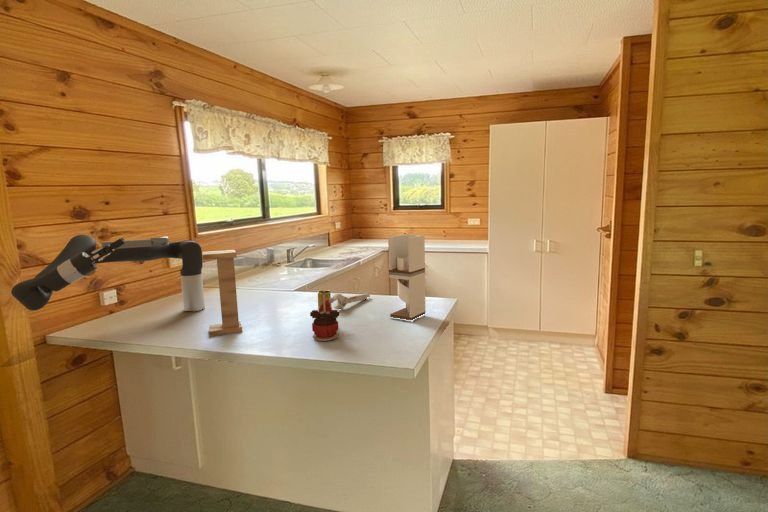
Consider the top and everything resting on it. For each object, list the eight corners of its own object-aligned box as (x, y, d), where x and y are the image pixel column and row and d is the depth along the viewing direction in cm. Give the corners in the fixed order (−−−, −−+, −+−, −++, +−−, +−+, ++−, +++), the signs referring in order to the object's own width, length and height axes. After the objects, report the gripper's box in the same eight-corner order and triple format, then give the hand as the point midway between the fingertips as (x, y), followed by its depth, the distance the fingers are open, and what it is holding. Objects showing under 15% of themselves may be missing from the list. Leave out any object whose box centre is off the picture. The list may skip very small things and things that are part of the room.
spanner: (105, 248, 156) (104, 239, 156) (169, 244, 164) (168, 236, 164) (101, 250, 151) (100, 241, 151) (168, 245, 159) (167, 237, 158)
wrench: (369, 304, 221) (334, 312, 195) (366, 304, 222) (331, 312, 195) (370, 288, 220) (335, 294, 194) (367, 288, 221) (331, 294, 195)
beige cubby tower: (404, 312, 194) (403, 234, 188) (425, 315, 187) (424, 235, 182) (390, 318, 184) (388, 237, 179) (411, 322, 178) (409, 238, 173)
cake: (309, 342, 158) (306, 294, 155) (314, 334, 167) (312, 288, 164) (338, 342, 157) (336, 293, 154) (341, 334, 166) (340, 288, 164)
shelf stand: (209, 330, 175) (202, 251, 171) (240, 325, 180) (234, 249, 175) (209, 336, 167) (202, 254, 163) (242, 331, 172) (236, 252, 167)
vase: (321, 328, 173) (319, 294, 171) (316, 324, 178) (314, 291, 176) (335, 326, 176) (333, 292, 174) (330, 322, 181) (328, 289, 179)
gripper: (89, 273, 159) (133, 246, 163) (79, 279, 146) (127, 251, 151) (74, 256, 157) (119, 230, 161) (63, 261, 144) (112, 233, 148)
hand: (123, 240), depth 156 cm, fingers closed on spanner, 3 cm apart
